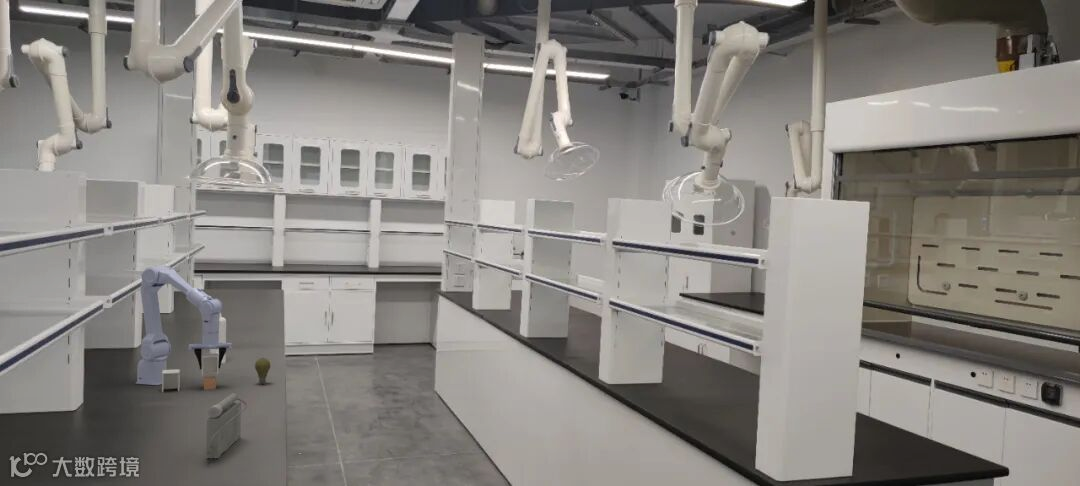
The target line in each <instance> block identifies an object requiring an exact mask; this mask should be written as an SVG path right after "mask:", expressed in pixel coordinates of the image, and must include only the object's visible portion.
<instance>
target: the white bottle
mask: <svg viewBox="0 0 1080 486" xmlns="http://www.w3.org/2000/svg"><path fill="white" fill-rule="evenodd" d="M219 343H227V319H226V318H225V317H223V315H222V312H221V313H219ZM211 353H218V355H219V349H209V354H211ZM226 353H227V352H226ZM226 353H225V355H224V357H223V359H222V362H221V365H222V364H225V363H226V362H227V361H226V359H227V354H226Z"/></svg>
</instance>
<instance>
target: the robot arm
mask: <svg viewBox="0 0 1080 486" xmlns="http://www.w3.org/2000/svg"><path fill="white" fill-rule="evenodd" d="M140 275H141V277H140V278H141V285H140V295H141V304H142V311H143V320H144V326H145V327H144V329H145V334H146V335H145V336H144V337H143V339H142V340H141V347H140V350H139V351H140V356H141V357H142V359H140V360H139V362H138V363H137V368H136V369H137V371H136V372H137V373H136V374H137V376H136V379H137V380H136V382H135V384H136V385H147V386H148V385H151V386H160V385H162V372H163V370H167V359H168V356H169V355H170V354H171V351H172V346H171V343H170V341H169V338H168V336H167V335H166V334H165V333H163V326H162V318H161V317H162V316H161V311H160V304H159V303H160V302H159V295H158V292H159V291H160V290H161V288H162V287H163V286H165V285H170V286H172V287H173V288H175V289H177V290H178V291H180V292H182V293H183V294H184V295H186V296H185V297H186V300H187V301H188V302H189V303H191V304H192V305H193V306H195V307H197V308H198V311H199V313H200V314H201V315H200V316H201V319H202V328H201V329H202V331H201V343H189V344H188V351H193V352H194V355H195V356H196V360H197V362H198V365H199V370H202V354H203V352H202V350H210V349H219V363H218V370H219V369H221V365H222V364H221V362H222V359H223V357H224V355H225V353H227V349H231V350H232V349H233V347H232V345H233V344H232V342H226V343H219V313H221V314H222V311H223V310H224V304H223V302H222V301H221V300H220V298H213V297H212V296H211V295H208V294H207V293H206V292H204V290H203V288H202V287H197V286H196V287H192V286H191V285H190V284H189V283H188V282H187V281H185V279H183V278H182V277H181V276H180V274H178V272H177V271H176V269H173V268H172V266H169V265H164V266H154V267H153V266H151V267H146V269H144V271H143V272H141V274H140Z"/></svg>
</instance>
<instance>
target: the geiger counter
mask: <svg viewBox="0 0 1080 486" xmlns="http://www.w3.org/2000/svg"><path fill="white" fill-rule="evenodd" d="M242 403H243V404H244V405H245V407H244V408H243V409H241V408H242V405H241V404H242ZM247 408H248V404H247V402H246V401H245V400H243V399H241V398H238V394H237V393H234V392H232V393H231V394H229V395H227V397H225V398H224V399H222V400H220V402H218V403H217V404H214V405H212V406H211V407H209V409H208V411H207V415H208V418H207V419H206V451H205V453H206V458H207V457H208V458H215V457H217V458H218V457H219V456H220V455H221V454H222V453H223V452H224V451H225V450H226V449H227V448H229V447H230V446H231V445H232V444H233V443H234V442H235V441H236V442H238V441H239V439H241V425H242V424H241V423H242V421H241V415H242V413H243V412H244V411H245V410H247ZM236 442H235V443H236ZM235 443H234V444H235ZM234 444H233V445H234ZM233 445H232V446H233ZM232 446H231V447H232ZM231 447H230V448H231ZM230 448H229V449H230ZM221 456H222V455H221ZM221 456H220V457H221ZM220 457H219V458H220ZM219 458H218V459H219Z"/></svg>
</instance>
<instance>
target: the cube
mask: <svg viewBox="0 0 1080 486" xmlns="http://www.w3.org/2000/svg"><path fill="white" fill-rule="evenodd" d="M216 387H217V376H216V375H215V376H214V375H211V376H203V390H216V389H217V388H216Z"/></svg>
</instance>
